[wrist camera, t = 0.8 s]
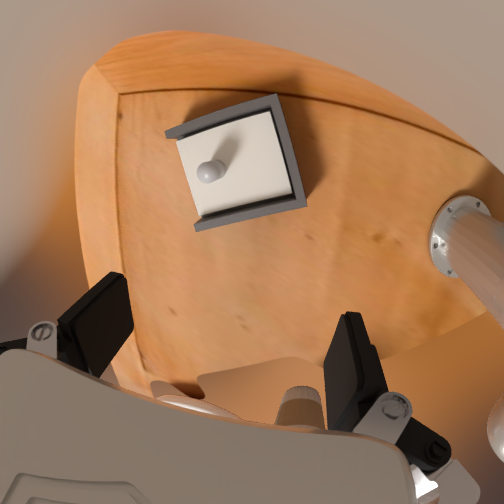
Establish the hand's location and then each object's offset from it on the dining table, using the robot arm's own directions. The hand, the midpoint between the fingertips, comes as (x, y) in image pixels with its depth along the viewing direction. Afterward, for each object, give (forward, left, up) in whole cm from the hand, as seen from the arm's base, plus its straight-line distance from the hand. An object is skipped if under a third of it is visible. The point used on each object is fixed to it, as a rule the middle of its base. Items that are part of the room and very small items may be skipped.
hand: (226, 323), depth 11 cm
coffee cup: (+4, +38, -26) cm, 46 cm away
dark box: (+4, -6, -25) cm, 26 cm away
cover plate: (+4, -6, -24) cm, 25 cm away
